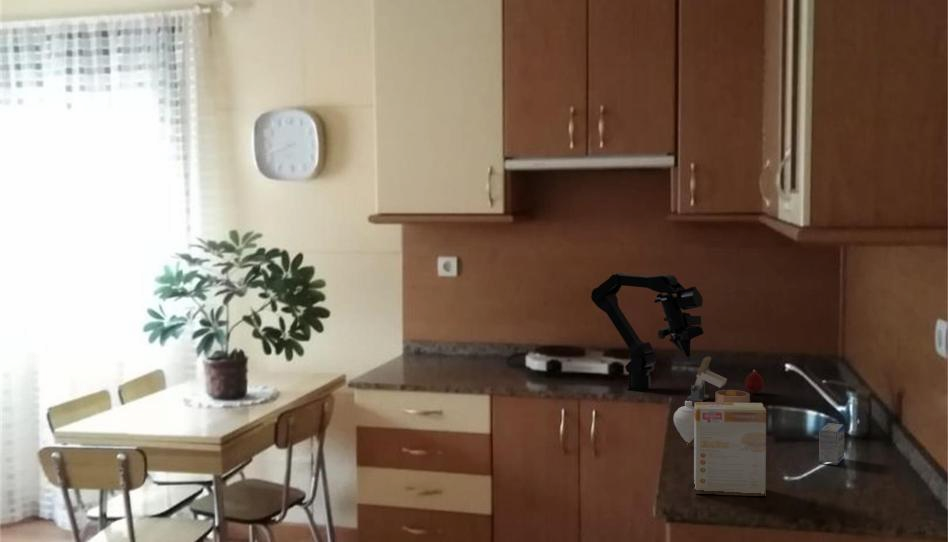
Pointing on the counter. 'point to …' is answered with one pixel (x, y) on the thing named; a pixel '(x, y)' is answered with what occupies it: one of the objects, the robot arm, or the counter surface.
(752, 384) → the onion
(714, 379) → the lever chute
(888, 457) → the counter surface
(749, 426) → the coffeecake box
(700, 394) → the stand
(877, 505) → the counter surface
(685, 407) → the spinning top
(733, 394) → the ball
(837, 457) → the medicine box
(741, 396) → the pinkish brown round bowl
